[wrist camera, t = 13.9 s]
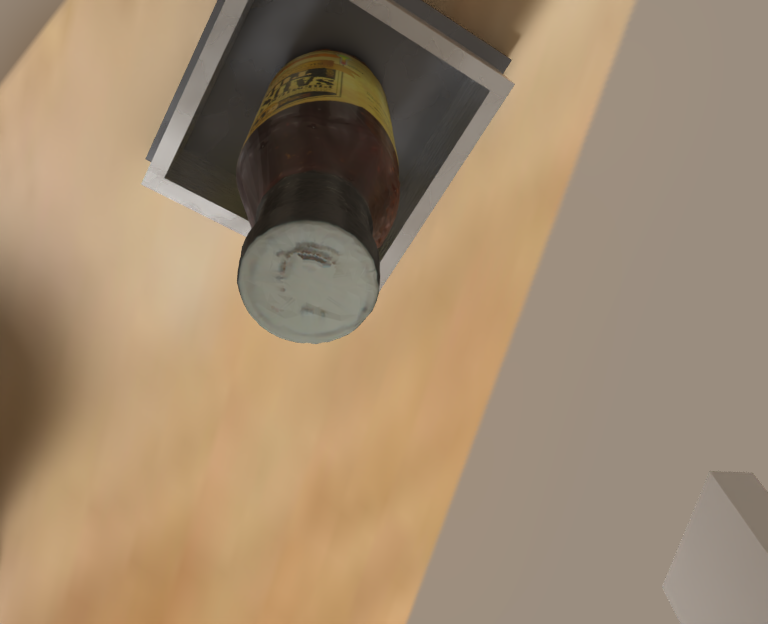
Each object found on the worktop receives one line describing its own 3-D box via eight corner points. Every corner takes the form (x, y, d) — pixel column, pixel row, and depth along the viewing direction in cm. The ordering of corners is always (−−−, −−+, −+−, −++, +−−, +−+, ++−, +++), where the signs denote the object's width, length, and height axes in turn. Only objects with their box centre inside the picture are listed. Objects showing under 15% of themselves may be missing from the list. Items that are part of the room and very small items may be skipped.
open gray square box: (372, 267, 43) (377, 316, 37) (150, 152, 39) (121, 189, 33) (506, 56, 38) (536, 78, 32) (266, -103, 33) (254, -108, 28)
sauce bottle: (323, 16, 35) (316, 105, 17) (411, 107, 37) (481, 266, 20) (237, 113, 37) (152, 280, 19) (325, 193, 39) (321, 407, 22)
